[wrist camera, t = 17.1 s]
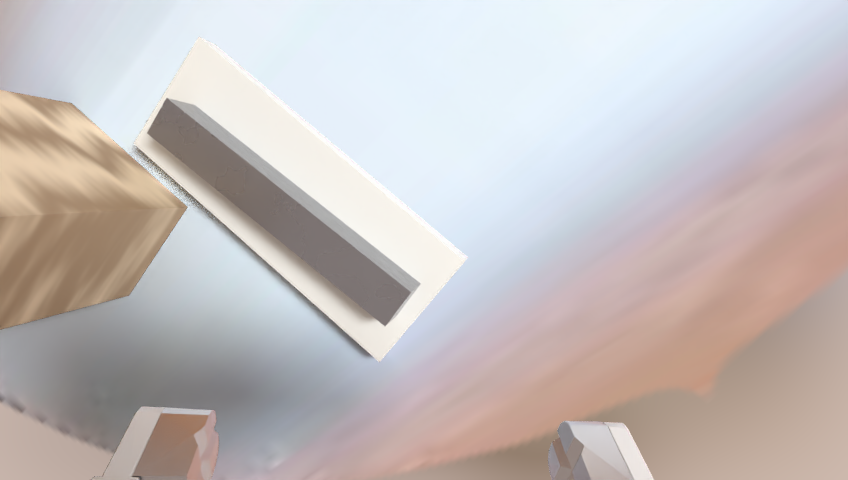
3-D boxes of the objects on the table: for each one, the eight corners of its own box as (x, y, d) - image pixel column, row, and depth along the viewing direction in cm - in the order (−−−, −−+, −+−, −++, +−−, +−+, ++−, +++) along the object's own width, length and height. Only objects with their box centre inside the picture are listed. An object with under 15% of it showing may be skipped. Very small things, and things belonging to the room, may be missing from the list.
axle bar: (176, 137, 38) (146, 133, 35) (195, 104, 37) (166, 97, 34) (396, 315, 35) (385, 326, 32) (420, 283, 35) (411, 292, 32)
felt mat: (152, 145, 40) (133, 143, 39) (215, 44, 38) (198, 36, 36) (386, 353, 38) (379, 362, 36) (468, 257, 36) (464, 261, 34)
